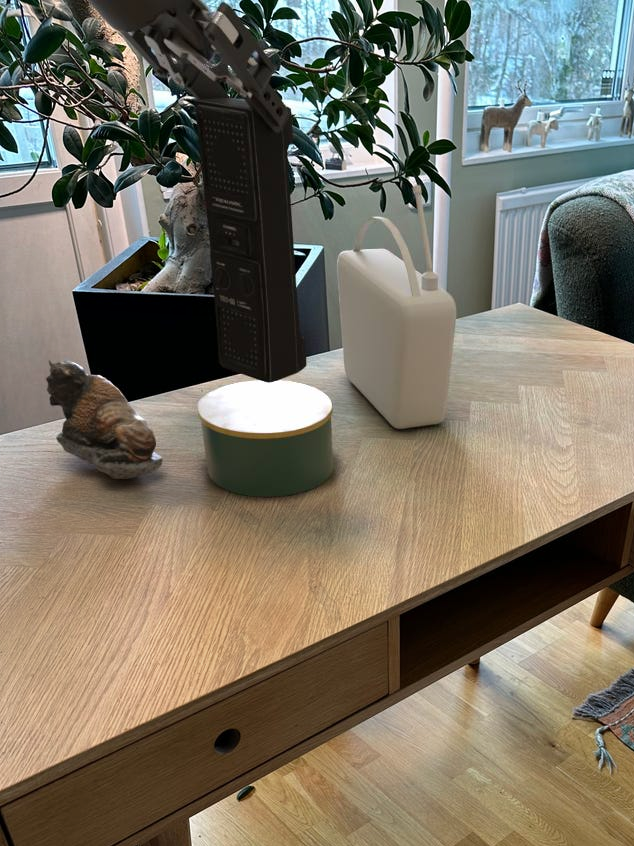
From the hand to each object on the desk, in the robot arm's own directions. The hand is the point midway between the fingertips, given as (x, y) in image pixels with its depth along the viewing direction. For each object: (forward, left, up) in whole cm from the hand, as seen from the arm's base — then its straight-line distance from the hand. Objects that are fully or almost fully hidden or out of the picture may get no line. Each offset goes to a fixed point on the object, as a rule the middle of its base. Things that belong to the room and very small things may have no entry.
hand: (252, 116), depth 75 cm
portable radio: (0, -2, -22) cm, 22 cm away
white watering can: (-4, +22, -32) cm, 39 cm away
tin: (0, -1, -32) cm, 32 cm away
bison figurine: (-11, -13, -32) cm, 37 cm away
